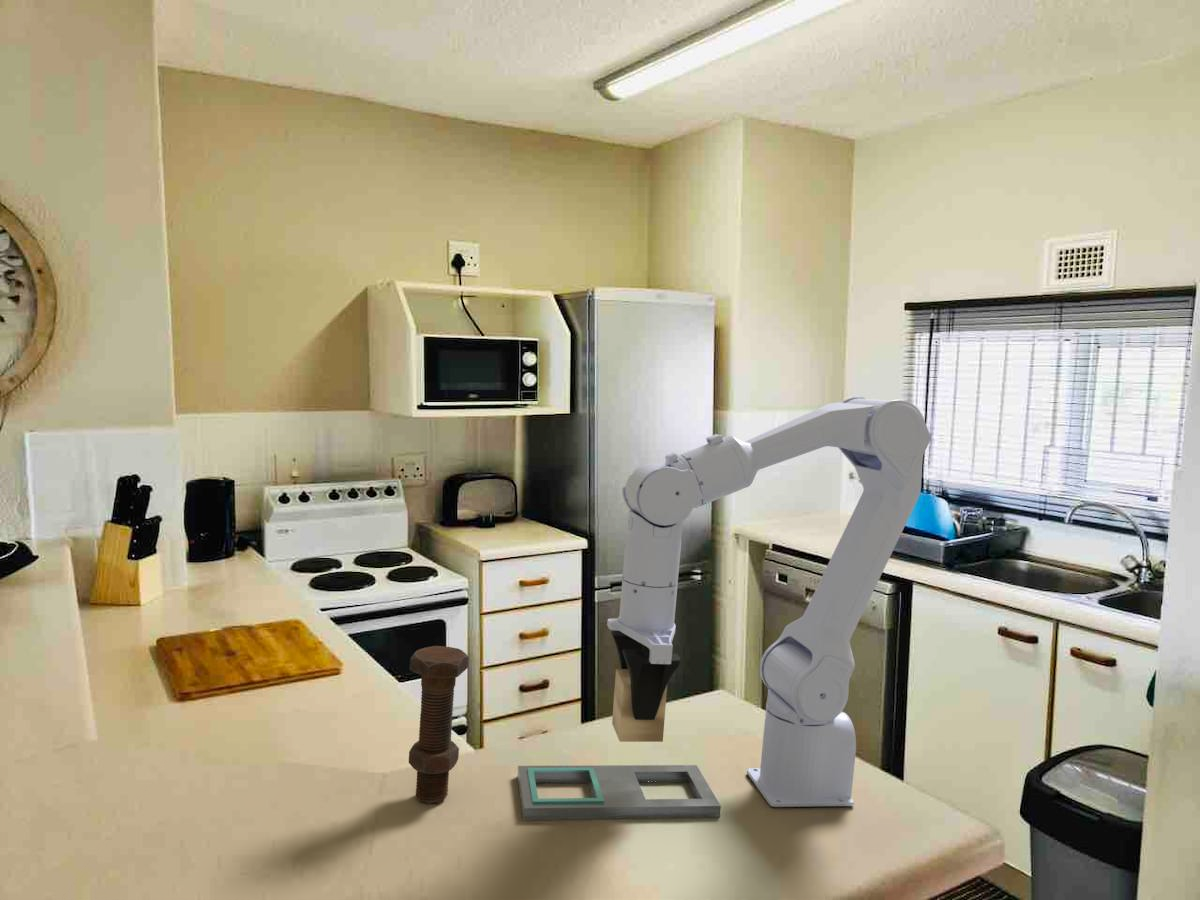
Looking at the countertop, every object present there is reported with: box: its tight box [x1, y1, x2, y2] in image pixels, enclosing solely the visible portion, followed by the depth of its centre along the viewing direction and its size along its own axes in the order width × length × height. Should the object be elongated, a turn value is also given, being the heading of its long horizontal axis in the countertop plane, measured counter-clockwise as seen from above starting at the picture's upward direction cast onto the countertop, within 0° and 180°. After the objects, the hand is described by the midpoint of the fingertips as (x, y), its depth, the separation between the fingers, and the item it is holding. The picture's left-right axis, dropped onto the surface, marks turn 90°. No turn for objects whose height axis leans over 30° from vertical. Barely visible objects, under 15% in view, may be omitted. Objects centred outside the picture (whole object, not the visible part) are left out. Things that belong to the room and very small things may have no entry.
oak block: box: [611, 668, 668, 743], centre depth 88 cm, size 4×4×6 cm
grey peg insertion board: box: [517, 764, 722, 821], centre depth 88 cm, size 20×9×1 cm, turn 99°
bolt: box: [408, 645, 470, 804], centre depth 85 cm, size 6×5×15 cm
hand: (638, 708), depth 88 cm, fingers closed on oak block, 4 cm apart
